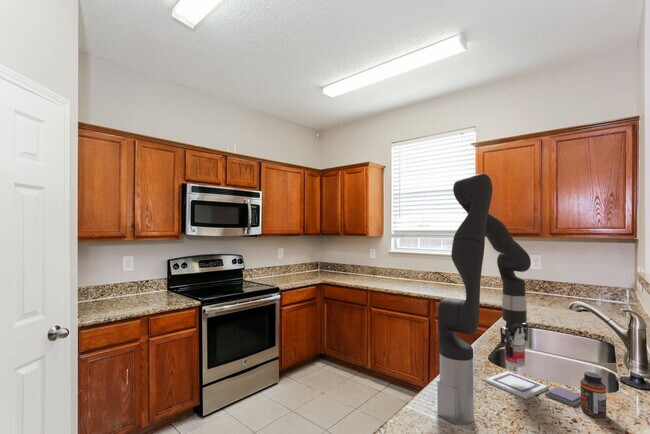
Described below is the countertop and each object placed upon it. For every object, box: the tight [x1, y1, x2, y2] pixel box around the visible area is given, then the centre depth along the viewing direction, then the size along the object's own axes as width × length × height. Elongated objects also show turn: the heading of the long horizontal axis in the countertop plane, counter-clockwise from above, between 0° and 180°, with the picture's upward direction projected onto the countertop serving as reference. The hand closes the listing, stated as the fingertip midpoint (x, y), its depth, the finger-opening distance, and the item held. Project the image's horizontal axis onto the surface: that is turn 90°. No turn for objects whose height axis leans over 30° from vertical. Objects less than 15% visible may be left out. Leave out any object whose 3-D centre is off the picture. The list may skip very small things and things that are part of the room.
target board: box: [484, 370, 549, 400], centre depth 114 cm, size 14×14×1 cm
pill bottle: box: [504, 333, 526, 368], centre depth 115 cm, size 6×6×11 cm
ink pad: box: [545, 386, 581, 408], centre depth 105 cm, size 8×8×2 cm
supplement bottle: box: [579, 371, 607, 419], centre depth 97 cm, size 6×6×11 cm
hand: (514, 355), depth 115 cm, fingers closed on pill bottle, 6 cm apart
